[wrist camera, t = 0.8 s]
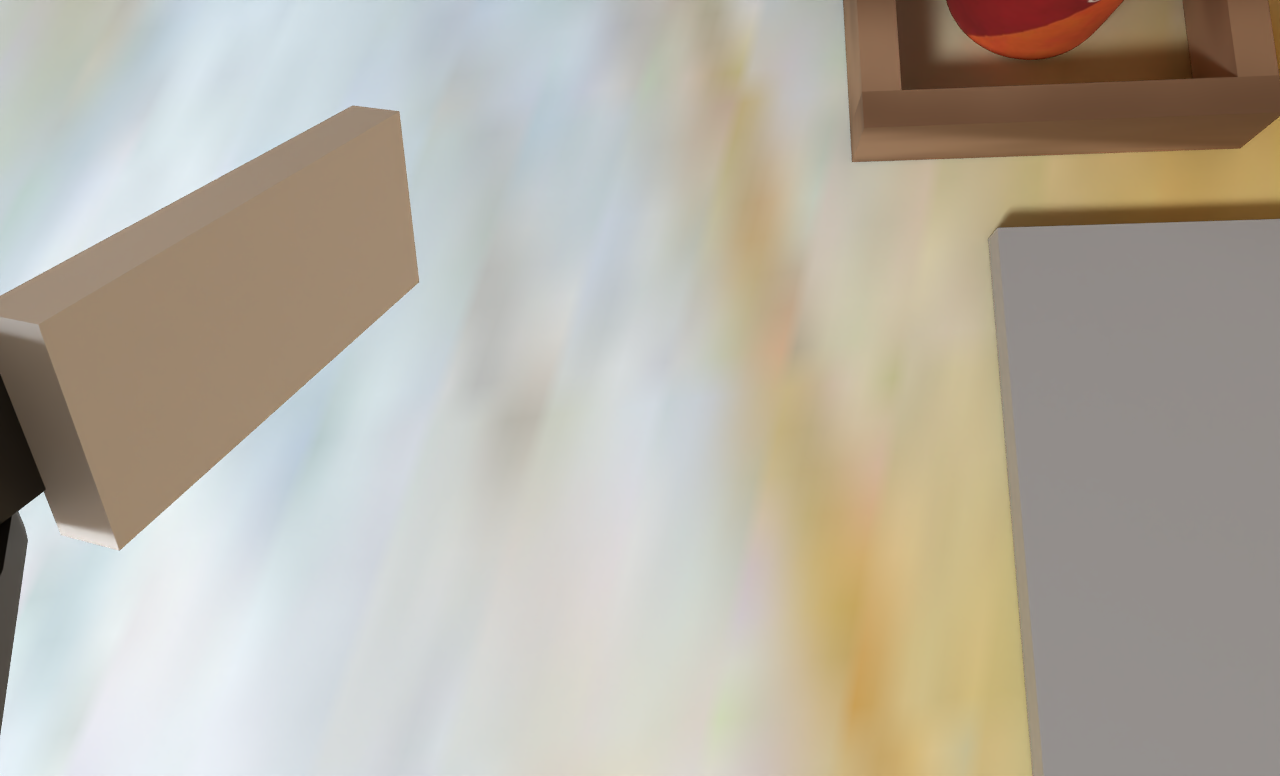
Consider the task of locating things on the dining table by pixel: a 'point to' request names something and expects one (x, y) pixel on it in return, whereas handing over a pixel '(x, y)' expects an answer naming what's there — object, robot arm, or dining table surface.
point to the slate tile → (1145, 492)
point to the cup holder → (1066, 97)
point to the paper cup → (1030, 24)
